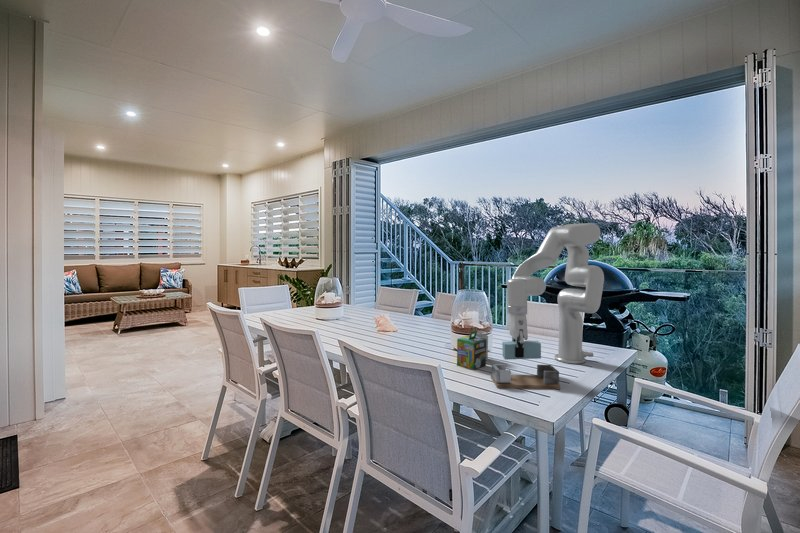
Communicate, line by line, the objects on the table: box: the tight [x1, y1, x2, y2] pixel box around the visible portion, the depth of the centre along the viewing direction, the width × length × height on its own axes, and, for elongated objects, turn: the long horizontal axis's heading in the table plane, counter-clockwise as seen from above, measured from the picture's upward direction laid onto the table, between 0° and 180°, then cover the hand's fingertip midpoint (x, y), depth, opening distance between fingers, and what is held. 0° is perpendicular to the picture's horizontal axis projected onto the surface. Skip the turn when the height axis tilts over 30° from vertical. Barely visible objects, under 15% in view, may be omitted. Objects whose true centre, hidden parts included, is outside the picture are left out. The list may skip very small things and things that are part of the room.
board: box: [490, 364, 561, 390], centre depth 145 cm, size 22×11×6 cm, turn 89°
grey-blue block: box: [501, 340, 542, 360], centre depth 157 cm, size 14×4×6 cm, turn 88°
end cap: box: [491, 363, 512, 383], centre depth 145 cm, size 5×8×4 cm, turn 179°
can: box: [472, 330, 489, 360], centre depth 176 cm, size 8×8×12 cm
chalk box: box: [456, 330, 487, 371], centre depth 166 cm, size 9×9×15 cm
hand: (517, 354), depth 157 cm, fingers closed on grey-blue block, 4 cm apart
